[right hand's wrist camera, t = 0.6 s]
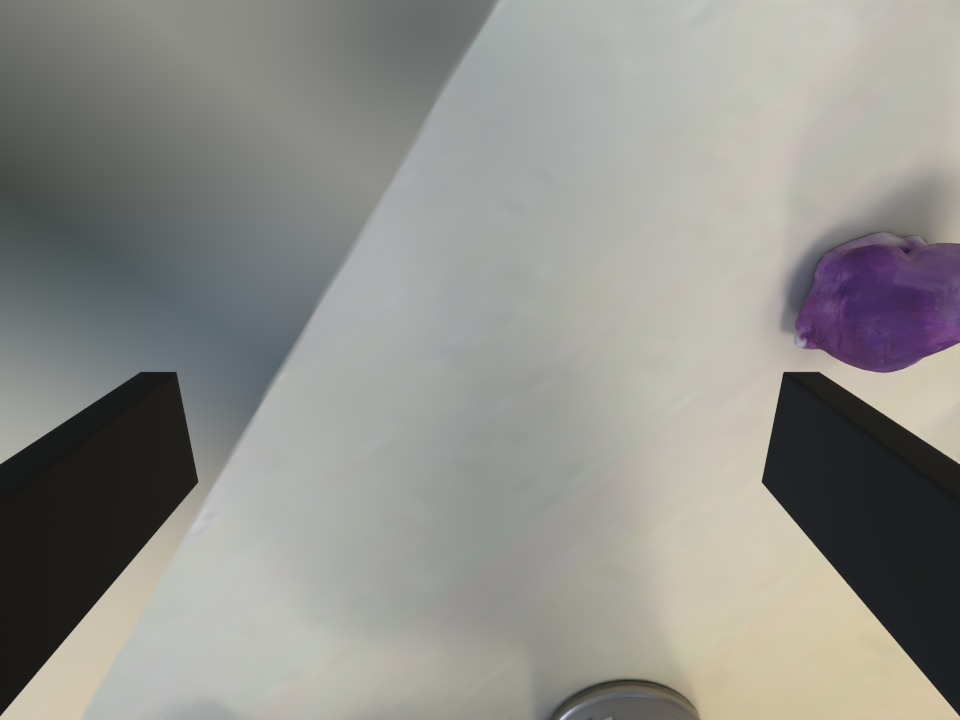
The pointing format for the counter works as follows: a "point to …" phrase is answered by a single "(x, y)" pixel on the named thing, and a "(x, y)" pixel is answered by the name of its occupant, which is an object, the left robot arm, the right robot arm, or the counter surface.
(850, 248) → the figurine
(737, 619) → the counter surface
